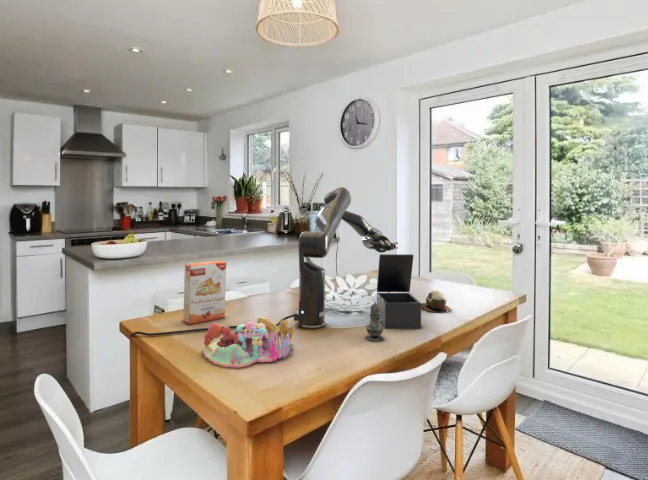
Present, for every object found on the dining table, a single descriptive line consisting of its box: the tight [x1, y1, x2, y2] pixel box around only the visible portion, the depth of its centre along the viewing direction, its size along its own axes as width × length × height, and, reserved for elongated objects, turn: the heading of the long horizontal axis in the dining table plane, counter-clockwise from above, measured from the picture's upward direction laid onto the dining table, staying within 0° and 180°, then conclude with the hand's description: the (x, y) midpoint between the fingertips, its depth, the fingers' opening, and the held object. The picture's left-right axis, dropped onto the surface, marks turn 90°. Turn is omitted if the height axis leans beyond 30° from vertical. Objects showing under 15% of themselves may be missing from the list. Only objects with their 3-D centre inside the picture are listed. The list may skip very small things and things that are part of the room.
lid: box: [376, 253, 414, 293], centre depth 157 cm, size 16×13×1 cm
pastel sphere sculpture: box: [203, 316, 296, 369], centre depth 122 cm, size 25×24×9 cm
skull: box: [421, 289, 451, 314], centre depth 170 cm, size 12×10×10 cm
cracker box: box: [182, 260, 227, 325], centre depth 151 cm, size 14×6×21 cm, turn 129°
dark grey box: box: [376, 292, 422, 329], centre depth 152 cm, size 15×13×9 cm
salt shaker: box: [365, 301, 385, 342], centre depth 134 cm, size 6×6×12 cm
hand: (388, 248), depth 168 cm, fingers closed
